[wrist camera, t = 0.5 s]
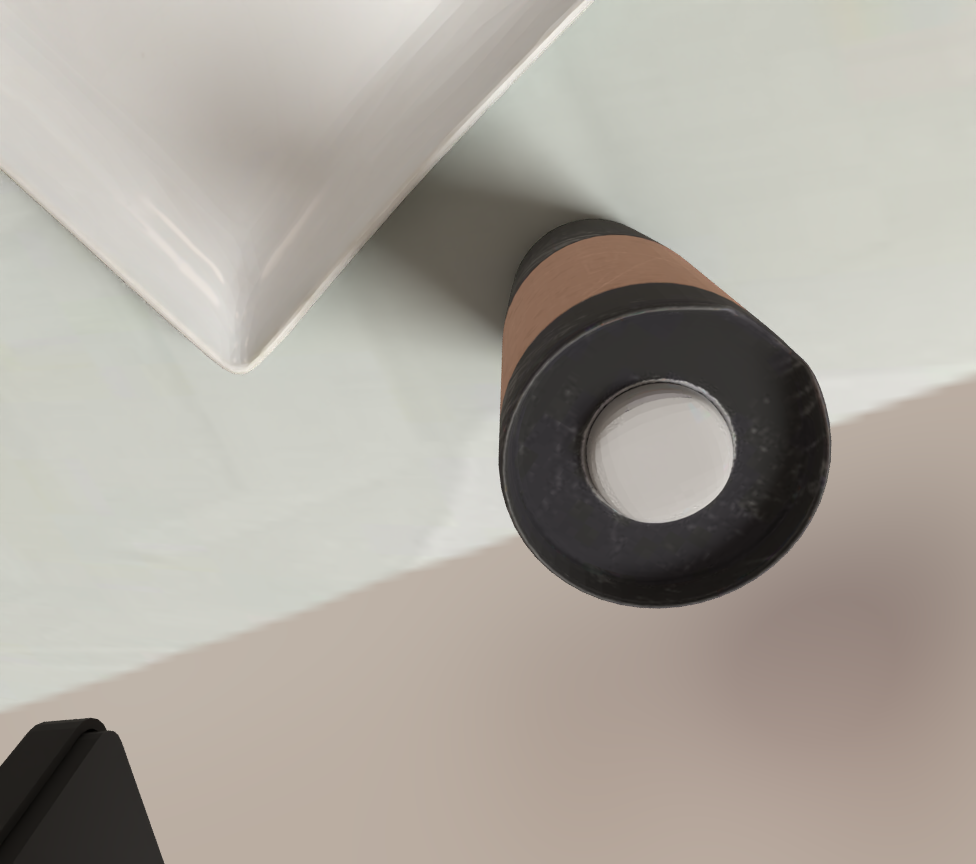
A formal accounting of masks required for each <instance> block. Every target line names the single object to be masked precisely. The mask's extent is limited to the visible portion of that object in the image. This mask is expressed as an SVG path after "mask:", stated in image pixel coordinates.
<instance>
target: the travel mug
mask: <svg viewBox="0 0 976 864" xmlns="http://www.w3.org/2000/svg"><path fill="white" fill-rule="evenodd" d="M830 462H831V433H830V423H829V418H828V413H827V409H826V404H825V401H824V398H823V394H822V391H821V388H820V386H819V384H818V381H817V379H816V377H815V375H814V373H813V372H812V370H811V369H810V367H809V365H808V364H807V363H806V362H805V361H804V360H803V359H802V358H801V357H800V356H799V355H798V354H796V353H795V352H794V351H793V350H792V349H791V348H790V347H789V346H788V345H787V344H786V343H785V342H784V341H783V340H782V339H781V338H780V337H778V336H777V335H776V334H775V333H774V332H773V331H771V330H770V329H769V328H768V327H767V326H766V325H764V324H763V323H762V322H761V321H759V320H758V319H757V318H756V317H755V316H753V315H752V314H751V313H750V312H748V311H747V310H746V309H745V308H743V307H742V306H741V305H740V304H739V303H737V302H736V301H735V300H734V299H732V298H731V297H730V296H729V295H728V294H726V293H725V292H724V291H723V290H721V289H720V288H719V287H718V286H717V285H715V284H714V283H713V282H712V281H710V280H709V279H708V278H707V277H705V276H704V275H703V274H702V273H701V272H699V271H698V270H697V269H696V268H694V267H693V266H692V265H691V264H690V263H688V262H687V261H686V260H685V259H683V258H682V257H681V256H680V255H678V254H677V253H675V252H673V251H672V250H670V249H669V248H667V247H666V246H664V245H662V244H660V243H658V242H656V241H654V240H653V239H651V238H649V237H647V236H645V235H643V234H642V233H640V232H638V231H636V230H634V229H632V228H629V227H627V226H625V225H623V224H620V223H616V222H613V221H608V220H601V219H587V220H579V221H575V222H571V223H568V224H565V225H562V226H560V227H558V228H556V229H554V230H552V231H551V232H549V233H548V234H546V235H545V236H544V237H542V238H541V239H540V240H539V241H538V242H537V243H536V244H535V245H534V246H533V247H532V248H531V249H530V251H529V252H528V253H527V254H526V256H525V258H524V259H523V261H522V263H521V264H520V267H519V269H518V271H517V273H516V276H515V280H514V283H513V287H512V291H511V295H510V300H509V305H508V309H507V314H506V319H505V325H504V331H503V343H502V374H501V404H500V433H499V473H500V481H501V489H502V493H503V496H504V500H505V504H506V507H507V510H508V512H509V515H510V517H511V519H512V522H513V524H514V526H515V528H516V530H517V531H518V533H519V535H520V536H521V538H522V540H523V542H524V543H525V544H526V546H527V547H528V548H529V549H530V550H531V552H532V553H533V554H534V556H535V557H536V558H537V559H538V560H539V561H540V562H541V563H542V564H543V565H544V566H546V567H547V568H548V569H549V570H550V571H551V572H552V573H554V574H555V575H556V576H558V577H559V578H561V579H562V580H563V581H565V582H566V583H568V584H569V585H571V586H573V587H575V588H577V589H578V590H580V591H582V592H584V593H586V594H589V595H591V596H594V597H596V598H599V599H601V600H605V601H609V602H613V603H616V604H620V605H625V606H633V607H639V608H670V607H682V606H687V605H693V604H697V603H702V602H705V601H707V600H712V599H715V598H718V597H721V596H723V595H725V594H728V593H730V592H732V591H735V590H737V589H739V588H741V587H743V586H744V585H746V584H748V583H750V582H751V581H753V580H755V579H756V578H758V577H759V576H761V575H762V574H763V573H764V572H766V571H767V570H769V569H770V568H771V567H772V566H774V565H775V564H776V563H777V562H778V561H779V560H780V559H781V558H782V557H783V556H784V555H785V554H787V553H788V551H789V550H790V549H791V548H792V547H793V546H794V544H795V543H796V542H797V541H798V540H799V538H800V537H801V536H802V534H803V533H804V531H805V530H806V528H807V526H808V525H809V523H810V522H811V520H812V518H813V516H814V514H815V512H816V510H817V508H818V506H819V504H820V502H821V499H822V495H823V492H824V489H825V486H826V483H827V478H828V473H829V467H830Z"/></svg>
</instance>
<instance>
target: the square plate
mask: <svg viewBox="0 0 976 864" xmlns="http://www.w3.org/2000/svg"><path fill="white" fill-rule="evenodd" d="M594 1H595V0H0V169H1V170H2V171H3V172H4V173H5V174H6V175H8V176H9V177H10V178H11V179H12V180H13V181H14V182H15V183H16V184H17V185H19V186H20V187H21V188H22V189H23V190H24V191H25V192H26V193H27V194H28V195H30V196H31V197H32V198H33V199H34V200H35V201H36V202H37V203H38V204H40V205H41V206H42V207H43V208H44V209H45V210H46V211H47V212H48V213H49V214H51V215H52V216H53V217H54V218H55V219H56V220H57V221H58V222H59V223H60V224H62V225H63V226H64V227H65V228H66V229H67V230H68V231H69V232H70V233H72V234H73V235H74V236H75V237H76V238H77V239H78V240H79V241H80V242H81V243H83V244H84V245H85V246H86V247H87V248H88V249H89V250H90V251H91V252H92V253H93V254H95V255H96V256H97V257H98V258H99V259H100V260H101V261H102V262H103V263H104V264H105V265H106V266H108V267H109V268H110V269H111V270H112V271H113V272H114V273H115V274H116V275H117V276H118V277H120V278H121V279H122V280H123V281H124V282H125V283H126V284H127V285H128V286H129V287H130V288H131V289H132V290H134V291H135V292H136V293H137V294H138V295H139V296H140V297H141V298H143V299H144V300H145V301H146V302H147V303H148V304H149V305H150V306H151V307H152V308H154V309H155V310H156V311H157V312H158V313H159V314H160V315H161V316H162V317H163V318H165V319H166V320H167V321H168V322H169V323H170V324H171V325H172V326H173V327H175V328H176V329H177V330H178V331H179V332H181V333H182V334H183V335H184V336H185V337H186V338H187V339H189V340H190V341H191V342H192V343H193V344H194V345H196V346H197V347H198V348H199V349H200V350H201V351H202V352H203V353H204V354H205V355H207V356H208V357H209V358H210V359H211V360H213V361H214V362H215V363H217V364H218V365H219V366H220V367H222V368H223V369H225V370H227V371H229V372H231V373H234V374H246V373H248V372H250V371H251V370H253V369H254V368H255V367H256V366H258V365H259V364H260V363H261V362H262V361H263V360H264V359H265V358H266V357H267V356H268V355H269V354H270V353H271V352H272V351H273V350H274V349H275V347H276V346H277V345H279V344H280V343H281V341H282V340H283V339H284V338H285V337H286V336H287V335H288V334H289V333H290V332H291V331H292V330H293V328H294V327H295V326H296V324H297V323H298V322H299V320H300V319H301V318H302V317H303V316H304V315H305V314H306V313H307V311H308V310H309V309H310V308H311V306H312V305H313V304H314V303H315V302H316V301H317V299H318V298H319V297H320V296H321V295H322V294H323V292H324V291H325V290H326V289H327V288H328V287H329V285H330V284H331V283H332V282H333V281H334V280H335V278H336V277H337V276H338V275H339V274H340V273H341V271H342V270H343V269H344V268H345V267H346V266H347V264H348V263H349V262H350V261H351V260H352V259H353V257H354V256H355V255H356V254H357V253H358V252H359V250H360V249H361V248H362V247H363V245H364V244H365V243H366V242H367V241H368V240H369V239H370V238H371V237H372V236H373V235H374V234H375V232H376V231H377V230H378V229H379V227H380V226H381V225H382V224H383V223H384V222H385V221H386V220H387V219H388V218H389V216H390V214H391V213H392V212H393V211H394V210H395V209H396V208H397V207H398V205H399V204H400V203H401V202H402V201H403V200H404V199H405V198H406V196H407V195H408V194H409V193H410V192H411V191H412V190H413V189H414V188H415V187H416V186H417V185H418V183H419V182H420V181H421V180H422V179H423V178H424V177H425V176H426V175H427V173H428V172H429V171H430V170H431V169H432V168H433V167H434V166H435V165H436V164H437V163H438V162H439V160H440V159H441V158H442V157H443V156H444V155H445V154H446V153H447V152H448V151H449V150H450V149H451V148H452V147H453V146H454V145H455V144H456V143H457V141H458V140H459V139H460V138H461V137H462V136H463V135H464V134H465V133H466V132H467V131H468V130H469V129H470V128H471V127H472V125H473V124H474V123H475V122H476V121H477V120H478V119H479V118H480V117H481V116H482V115H483V114H484V113H485V112H486V110H487V109H488V108H489V107H490V106H491V105H492V104H493V103H494V102H495V101H496V100H497V99H499V98H500V97H501V96H502V94H503V93H504V92H505V91H506V90H507V89H508V88H509V87H510V86H511V85H512V84H513V83H514V82H515V81H516V80H517V79H518V78H519V77H520V76H521V75H522V74H523V73H524V72H525V71H526V70H527V69H528V68H529V67H530V66H531V65H532V64H533V63H534V62H535V61H536V59H537V58H538V57H539V56H540V55H541V54H542V53H543V52H544V51H545V50H546V49H547V48H548V47H549V46H550V45H551V44H552V43H553V42H554V41H555V40H556V39H557V38H558V37H559V36H560V35H561V34H562V33H563V32H564V31H565V30H566V29H567V28H568V27H569V26H570V25H571V24H572V23H573V22H574V21H575V20H577V19H578V18H579V17H580V15H581V14H582V13H583V12H584V11H585V10H586V9H587V8H588V7H589V6H590V5H591V4H592V3H593V2H594Z"/></svg>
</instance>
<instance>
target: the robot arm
mask: <svg viewBox="0 0 976 864" xmlns="http://www.w3.org/2000/svg"><path fill="white" fill-rule="evenodd" d="M0 864H164V861H163V859H162V856H161V853H160V850H159V847H158V844H157V841H156V839H155V836H154V833H153V830H152V827H151V824H150V821H149V819H148V816H147V813H146V810H145V807H144V804H143V802H142V799H141V796H140V793H139V790H138V788H137V784H136V782H135V779H134V776H133V773H132V770H131V767H130V765H129V762H128V759H127V756H126V753H125V750H124V747H123V745H122V742H121V740H120V738H119V736H118V734H116V733H115V732H114V731H107V730H106V728H105V726H104V724H103V723H101V722H100V721H99V720H98V719H94V718H85V719H73V720H61V721H51V722H43V723H40V724H38V725H35V726H34V727H33V728H32V729H31V730H30V731H29V732H28V733H27V734H26V736H25V737H24V738H23V739H22V741H21V742H20V743H19V744H18V745H17V747H16V748H15V749H14V750H13V751H12V753H11V754H10V755H9V756H8V758H7V759H6V760H5V761H4V763H3V764H2V765H1V766H0Z"/></svg>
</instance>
